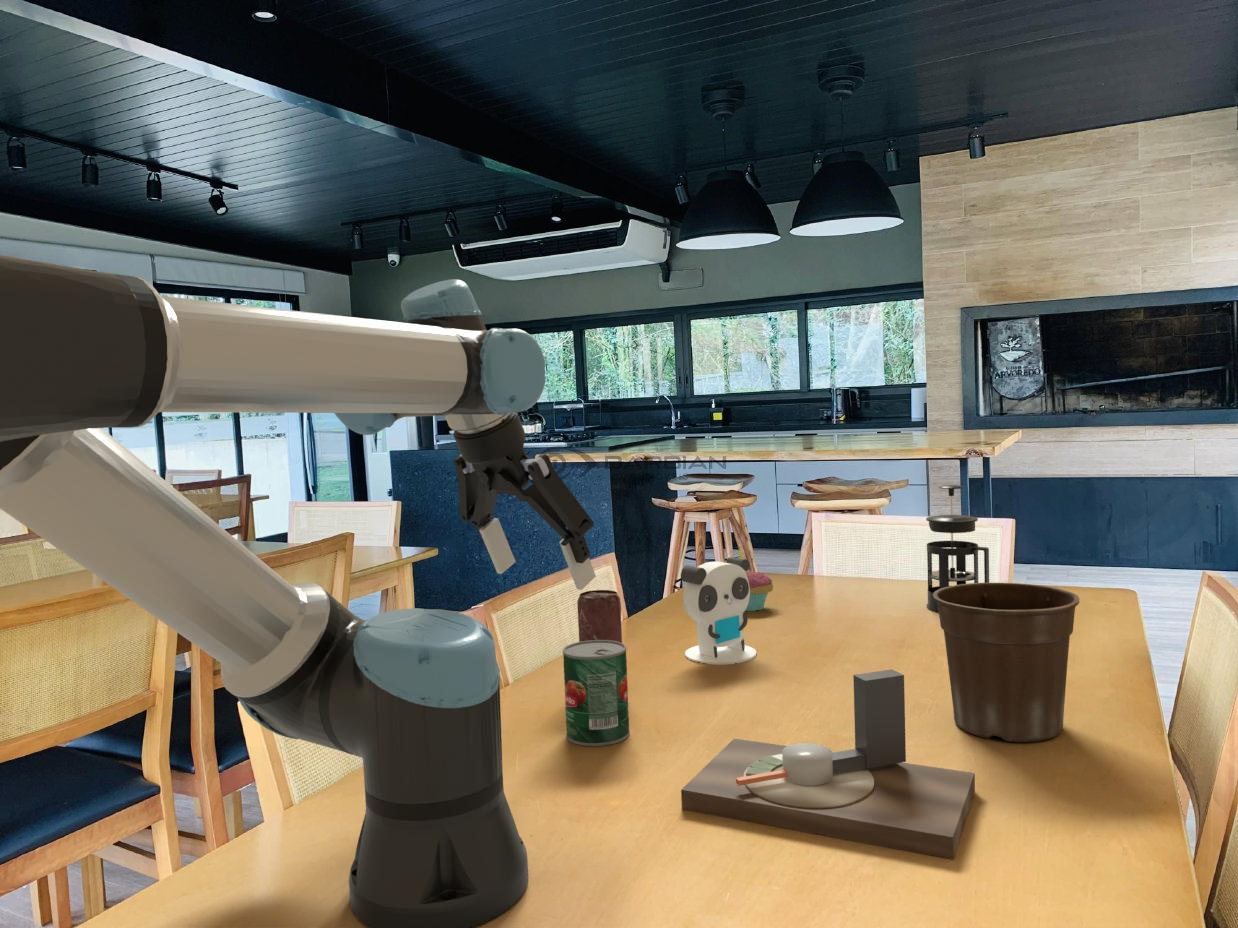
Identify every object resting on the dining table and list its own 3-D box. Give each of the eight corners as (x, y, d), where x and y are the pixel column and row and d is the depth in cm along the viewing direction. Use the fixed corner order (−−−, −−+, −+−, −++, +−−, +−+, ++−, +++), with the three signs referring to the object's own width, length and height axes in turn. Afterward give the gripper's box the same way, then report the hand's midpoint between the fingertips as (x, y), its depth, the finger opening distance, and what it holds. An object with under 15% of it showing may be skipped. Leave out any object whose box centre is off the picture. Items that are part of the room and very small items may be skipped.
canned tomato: (553, 735, 116) (549, 648, 115) (602, 719, 121) (599, 636, 120) (593, 752, 110) (589, 660, 109) (643, 734, 115) (639, 647, 114)
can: (621, 696, 129) (616, 597, 128) (577, 695, 131) (572, 597, 130) (629, 683, 135) (625, 588, 134) (587, 682, 137) (582, 588, 136)
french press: (915, 609, 172) (912, 486, 170) (934, 600, 179) (932, 481, 178) (979, 617, 165) (977, 488, 163) (996, 606, 172) (995, 483, 170)
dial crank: (748, 797, 90) (745, 703, 89) (727, 777, 94) (724, 688, 94) (913, 767, 95) (912, 678, 94) (886, 750, 100) (884, 665, 99)
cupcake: (725, 612, 176) (723, 550, 175) (733, 602, 184) (731, 543, 184) (770, 613, 174) (768, 550, 173) (776, 603, 182) (774, 543, 181)
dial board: (953, 859, 81) (952, 831, 81) (681, 808, 93) (680, 784, 93) (974, 791, 94) (974, 767, 94) (734, 755, 107) (734, 734, 106)
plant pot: (907, 715, 117) (905, 589, 116) (1008, 696, 123) (1006, 576, 122) (1002, 760, 102) (1000, 616, 101) (1112, 736, 108) (1111, 599, 107)
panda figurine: (715, 669, 140) (711, 571, 139) (667, 655, 149) (663, 563, 148) (771, 654, 147) (768, 560, 146) (722, 641, 156) (719, 553, 155)
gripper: (586, 405, 97) (642, 570, 106) (436, 402, 113) (496, 545, 122) (540, 439, 92) (603, 609, 101) (391, 431, 108) (456, 578, 117)
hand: (545, 575), depth 112 cm, fingers open, 13 cm apart
